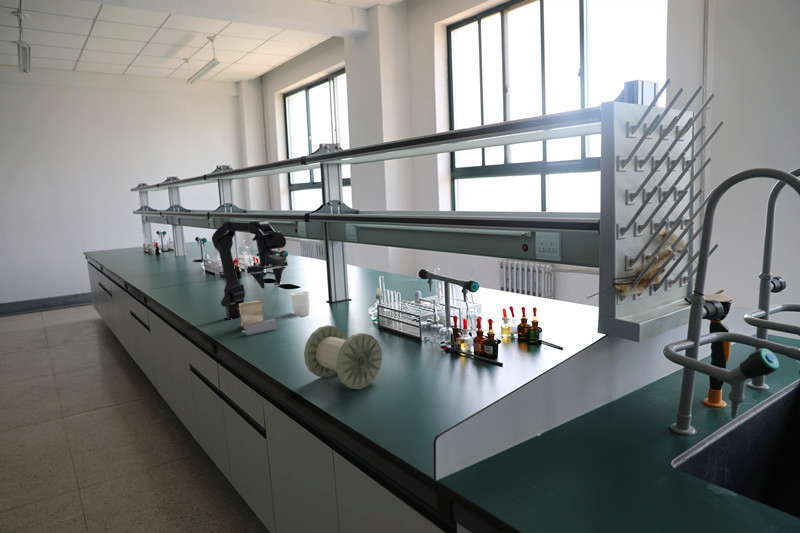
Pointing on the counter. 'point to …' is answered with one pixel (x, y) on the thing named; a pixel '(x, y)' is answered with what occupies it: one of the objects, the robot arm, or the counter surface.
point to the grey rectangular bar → (260, 327)
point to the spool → (343, 356)
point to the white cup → (300, 303)
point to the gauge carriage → (250, 313)
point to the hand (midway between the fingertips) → (271, 286)
